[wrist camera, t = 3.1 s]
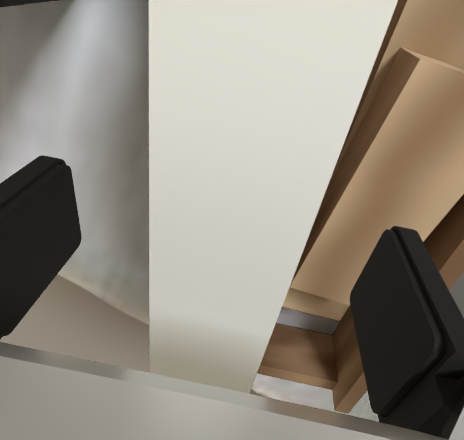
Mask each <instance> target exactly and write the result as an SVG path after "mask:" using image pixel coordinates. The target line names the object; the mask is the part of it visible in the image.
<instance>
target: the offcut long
mask: <svg viewBox="0 0 464 440" xmlns="http://www.w3.org/2000/svg"><path fill="white" fill-rule="evenodd" d="M400 48H404V49H407V50H410V51H412V52H415V53H418V54H421V55H424V56H427V57H430V58H433V59H436V60H439V61H442V62H445V63H448V64H450V65H453V66H456V67H459V68H462V69H464V0H398V2H397V5H396V7H395V10H394V13H393V15H392V18H391V20H390V23H389V26H388V28H387V31H386V34H385V36H384V39H383V42H382V44H381V47H380V49H379V52H378V55H377V57H376V60H375V63H374V65H373V68H372V71H371V73H370V76H369V79H368V81H367V84H366V86H365V89H364V92H363V94H362V97H361V100H360V102H359V105H358V108H357V110H356V113H355V115H354V118H353V121H352V123H351V126H350V129H349V131H348V134H347V137H346V139H345V142H344V144H343V147H342V150H341V152H340V155H339V158H338V160H337V163H336V166H335V168H334V171H333V174H332V176H331V178H332V177H333V175H334V173H335V171H336V169H337V167H338V165H339V163H340V161H341V160H342V158H343V156H344V154H345V152H346V150H347V148H348V146H349V145H350V143H351V141H352V139H353V137H354V135H355V133H356V131H357V129H358V128H359V126H360V124H361V122H362V120H363V118H364V116H365V114H366V112H367V111H368V109H369V107H370V105H371V103H372V101H373V99H374V97H375V95H376V94H377V92H378V90H379V88H380V86H381V84H382V82H383V80H384V78H385V77H386V75H387V73H388V71H389V69H390V67H391V65H392V63H393V61H394V60H395V58H396V56H397V54H398V52H399V50H400ZM330 180H331V179H330ZM329 182H330V181H329ZM349 306H350V305H347V304H344V303H340V302H337V301H334V300H330V299H327V298H324V297H320V296H317V295H314V294H310V293H307V292H304V291H300V290H297V289H294V288H290V287H289V290H288V292H287V295H286V298H285V300H284V303H283V305H282V307H285V308H289V309H293V310H297V311H301V312H306V313H310V314H314V315H318V316H322V317H326V318H330V319H334V320H339V321H340V320H341V318H342V317H343V315H344V314H345V312H346V310H347V309H348V307H349Z"/></svg>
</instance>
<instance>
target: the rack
mask: <svg viewBox="0 0 464 440" xmlns="http://www.w3.org/2000/svg"><path fill="white" fill-rule="evenodd" d="M423 243H424V245H425V247H426V249H427V250H428V252H429V254H430V256H431V258H432V260H433V262H434V263H435V265H436V267H437V269H438V271H439V273H440V275H441V277H442V278H443V280H444V282H445V284H446V286H447V288H448V290H450V289H451V287H452V286H453V285H454V284H455V283H456V281H457V280H458V279H459V278H460V276H461V275H462V274H463V273H464V194H463V195H462V196H461V198H460V199H459V200H458V201H457V202H456V204H455V205H454V206H453V207H452V208H451V209H450V211H449V212H448V213H447V214H446V215H445V217H444V218H443V219H442V220H441V221H440V223H439V224H438V225H437V226H436V227H435V228H434V230H433V231H432V232H431V233H430V234H429V236H428V237H427V238H426V239H425V240H424V242H423ZM257 373H258V374H263V375H267V376H272V377H276V378H281V379H285V380H290V381H295V382H299V383H304V384H308V385H313V386H317V387H322V388H326V389H331V390H333V400H334V410H335V411H339V412H344V413H349V412H350V411H351V409H352V408H353V407H354V406H355V405H356V403H357V402H358V401H359V400H360V398H361V397H362V396H363V395H364V394H365V392H366V391H367V385H366V380H365V375H364V370H363V365H362V360H361V356H360V351H359V346H358V341H357V336H356V331H355V326H354V321H353V316H352V311H351V306H349V307H348V309H347V311H346V313H345V314H344V316H343V318H342V320H341V321H340V323H339V325H338V327H337V328H336V330H335V332H334V334H333V335H328V334H323V333H319V332H314V331H309V330H305V329H300V328H296V327H291V326H286V325H282V324H277V323H276V324H275V327H274V329H273V332H272V335H271V337H270V340H269V342H268V345H267V348H266V350H265V353H264V356H263V358H262V361H261V364H260V366H259V369H258V371H257Z"/></svg>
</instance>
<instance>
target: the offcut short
mask: <svg viewBox="0 0 464 440" xmlns="http://www.w3.org/2000/svg"><path fill="white" fill-rule="evenodd" d="M463 194H464V69H462V68H459V67H456V66H453V65H450V64H448V63H445V62H442V61H439V60H436V59H433V58H430V57H427V56H424V55H421V54H418V53H415V52H412V51H410V50H407V49H404V48H400V50H399V52H398V54H397V56H396V58H395V60H394V61H393V63H392V65H391V67H390V69H389V71H388V73H387V75H386V77H385V78H384V80H383V82H382V84H381V86H380V88H379V90H378V92H377V94H376V95H375V97H374V99H373V101H372V103H371V105H370V107H369V109H368V111H367V112H366V114H365V116H364V118H363V120H362V122H361V124H360V126H359V128H358V129H357V131H356V133H355V135H354V137H353V139H352V141H351V143H350V145H349V146H348V148H347V150H346V152H345V154H344V156H343V158H342V160H341V161H340V163H339V165H338V167H337V169H336V171H335V173H334V175H333V177H332V178H331V180H330V182H329V184H328V187H327V189H326V192H325V195H324V197H323V200H322V203H321V205H320V208H319V210H318V213H317V216H316V218H315V221H314V224H313V226H312V229H311V232H310V234H309V237H308V240H307V242H306V245H305V247H304V250H303V253H302V255H301V258H300V261H299V263H298V266H297V269H296V271H295V274H294V276H293V279H292V282H291V284H290V288H294V289H297V290H300V291H304V292H307V293H310V294H314V295H317V296H320V297H324V298H327V299H330V300H334V301H337V302H340V303H344V304H347V305H350V293H351V291H352V289H353V287H354V285H355V283H356V281H357V279H358V278H359V276H360V274H361V272H362V270H363V268H364V266H365V265H366V263H367V261H368V259H369V257H370V255H371V254H372V252H373V250H374V248H375V246H376V244H377V243H378V241H379V239H380V237H381V235H382V233H383V232H384V231H385V230H386V229H388V230H390V229H391V228H392V227H393V226H399V227H404V228H409V229H414V230H416V231H417V232H418V234H419V235H420V237H421V239H422V241H423V242H424V240H425V239H426V238H427V237H428V236H429V234H430V233H431V232H432V231H433V230H434V228H435V227H436V226H437V225H438V224H439V223H440V221H441V220H442V219H443V218H444V217H445V215H446V214H447V213H448V212H449V211H450V209H451V208H452V207H453V206H454V205H455V204H456V202H457V201H458V200H459V199H460V198H461V196H462V195H463Z"/></svg>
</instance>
